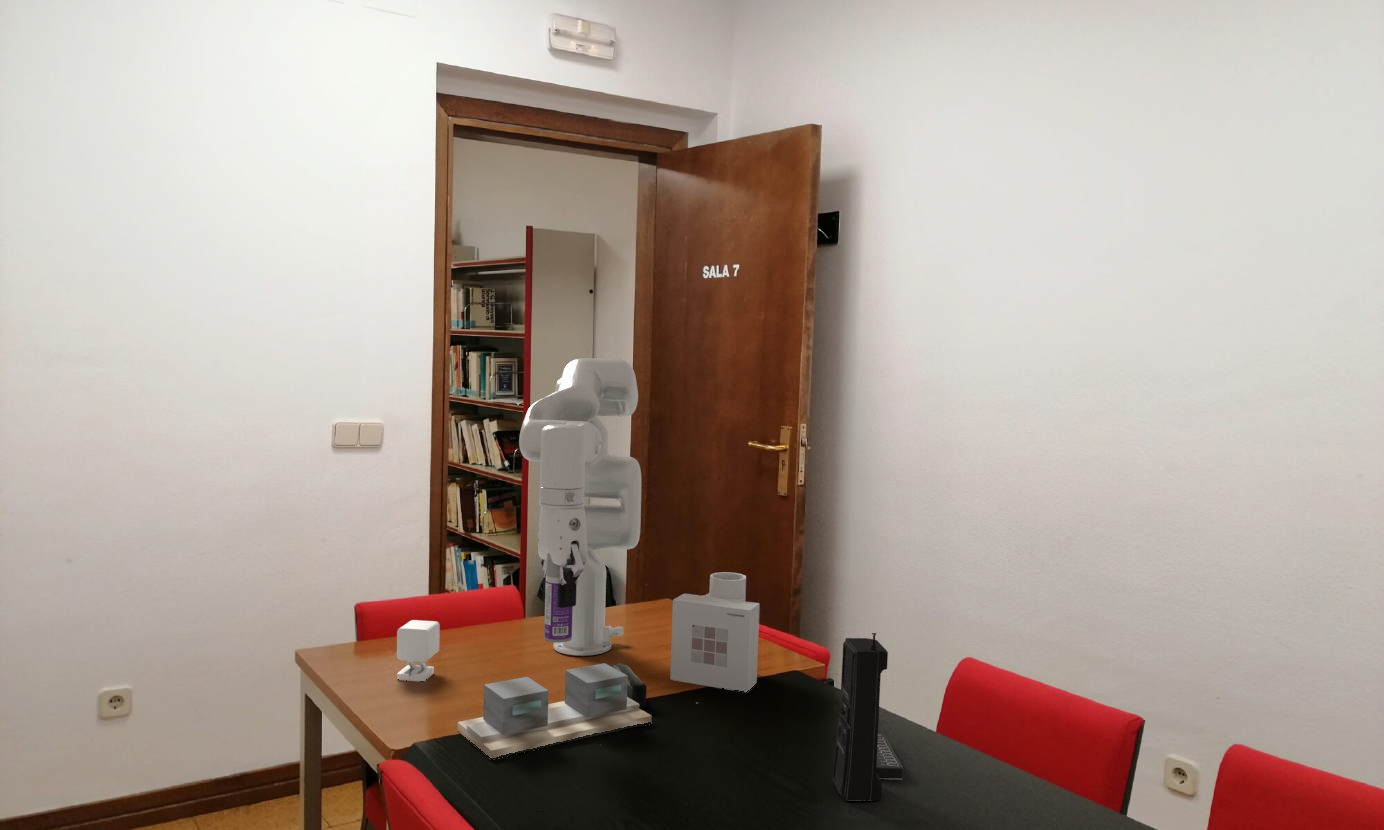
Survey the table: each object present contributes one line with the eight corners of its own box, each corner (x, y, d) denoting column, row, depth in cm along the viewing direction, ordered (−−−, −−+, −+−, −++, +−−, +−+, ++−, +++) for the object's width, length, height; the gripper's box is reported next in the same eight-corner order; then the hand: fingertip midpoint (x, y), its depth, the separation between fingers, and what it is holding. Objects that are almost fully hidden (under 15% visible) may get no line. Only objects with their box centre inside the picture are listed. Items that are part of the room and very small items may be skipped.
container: (576, 636, 169) (578, 550, 168) (564, 643, 164) (566, 555, 164) (552, 633, 170) (554, 548, 170) (539, 640, 166) (541, 553, 165)
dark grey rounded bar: (649, 683, 179) (620, 657, 193) (634, 684, 178) (605, 658, 191) (648, 709, 180) (619, 681, 193) (633, 711, 178) (604, 683, 192)
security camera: (439, 670, 196) (439, 621, 196) (426, 681, 189) (427, 631, 189) (408, 668, 197) (409, 619, 196) (394, 679, 190) (395, 629, 189)
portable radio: (829, 779, 151) (836, 620, 149) (867, 779, 151) (874, 620, 150) (841, 802, 143) (848, 634, 142) (881, 802, 144) (889, 635, 142)
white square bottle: (669, 680, 195) (672, 581, 194) (703, 655, 212) (706, 564, 211) (746, 693, 189) (750, 591, 188) (775, 666, 206) (778, 572, 205)
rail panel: (610, 699, 183) (612, 655, 182) (651, 723, 171) (652, 677, 171) (457, 730, 165) (458, 682, 165) (491, 759, 154) (492, 708, 154)
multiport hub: (875, 782, 151) (876, 767, 151) (856, 745, 166) (857, 731, 166) (903, 782, 152) (904, 768, 151) (882, 745, 166) (883, 732, 166)
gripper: (606, 502, 161) (603, 611, 162) (558, 489, 175) (556, 590, 176) (565, 505, 157) (562, 617, 158) (520, 491, 171) (517, 594, 172)
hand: (559, 601), depth 167 cm, fingers closed on container, 4 cm apart
